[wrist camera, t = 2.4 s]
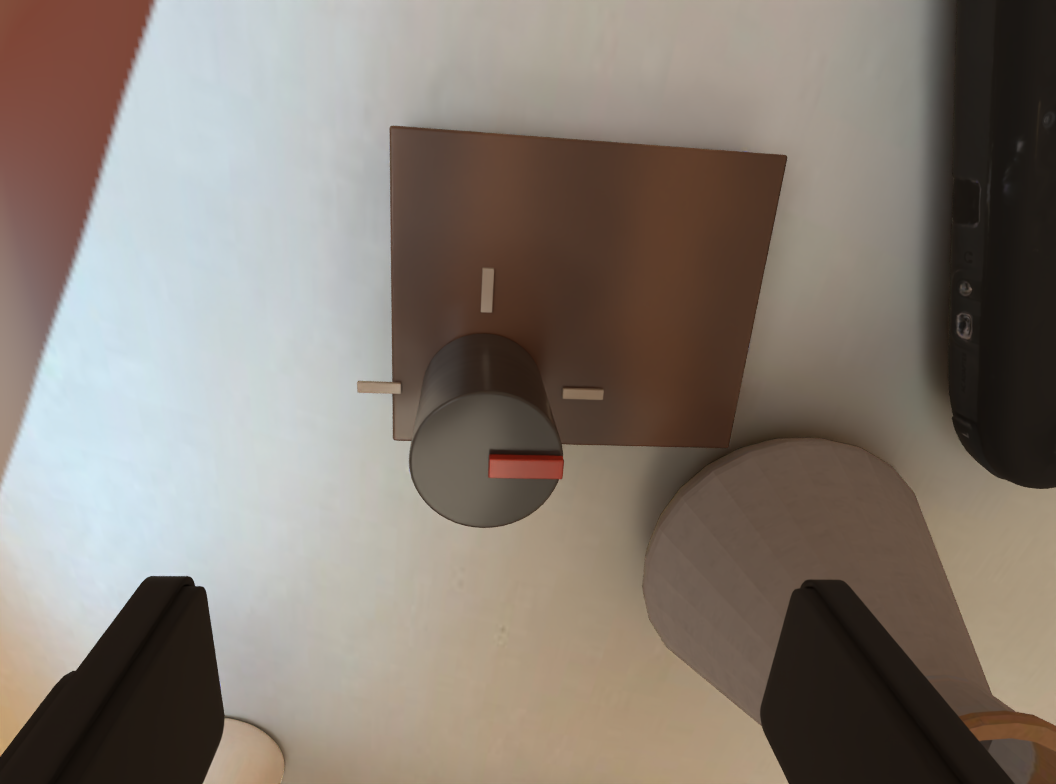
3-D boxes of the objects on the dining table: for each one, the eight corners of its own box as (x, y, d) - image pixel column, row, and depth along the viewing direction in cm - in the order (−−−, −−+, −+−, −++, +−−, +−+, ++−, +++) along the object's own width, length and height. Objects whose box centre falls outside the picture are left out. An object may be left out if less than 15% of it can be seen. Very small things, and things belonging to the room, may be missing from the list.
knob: (422, 442, 22) (407, 535, 17) (422, 330, 20) (407, 393, 15) (537, 445, 22) (558, 535, 17) (546, 335, 21) (572, 398, 16)
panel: (373, 455, 25) (361, 496, 22) (365, 125, 21) (349, 122, 18) (692, 461, 26) (720, 501, 23) (748, 153, 22) (791, 155, 19)
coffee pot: (583, 594, 28) (692, 1026, 15) (705, 370, 25) (1005, 657, 11) (946, 702, 33) (1292, 1107, 19) (1092, 527, 30) (1644, 867, 16)
